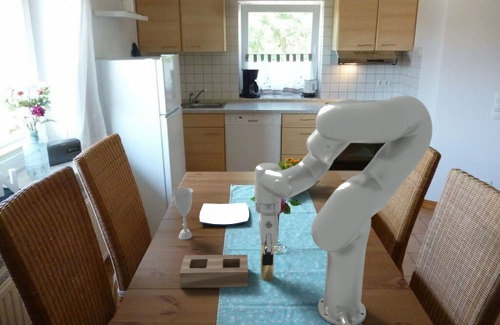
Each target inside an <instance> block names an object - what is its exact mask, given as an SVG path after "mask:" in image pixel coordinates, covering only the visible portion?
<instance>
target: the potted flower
mask: <svg viewBox="0 0 500 325" xmlns="http://www.w3.org/2000/svg"><path fill="white" fill-rule="evenodd" d="M303 159H304V157H302V156H300V157H299V159H294V157H287V158H285V162H283V161H280V160H279V161H278V163H277V165H279V166H280V168H281V170H285V169H288V168H290V167H293V166H296V165H297V164H299V163H300V162H301V161H302V160H303ZM319 182H320V179H319V180H318V181H317V182H316V183H315V184H314V185H313V186H315V185H317V184H318V183H319ZM313 186H312V187H313ZM312 187H310V188H309V189H307V190H305V191H307V192H308V191H309V190H310V189H311V188H312ZM297 195H300V193H298V194H297Z"/></svg>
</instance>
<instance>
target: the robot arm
mask: <svg viewBox="0 0 500 325" xmlns="http://www.w3.org/2000/svg"><path fill="white" fill-rule="evenodd" d="M432 137H433V121H432V117H431V114H430V112H429V110H428V108H427V107H426V105H425V104H424V103H423V102H422V101H421V100H419V99H418V98H417V97H413V96H409V95H400V96H395V97H390V98H386V99H384V100H383V99H382V100H378V101H363V102H362V101H360V100H358V99H353V98H346V99H342V100H338V101H333V102H329V103H327V104H326V105H324V106H323V107H321V109H320V110H319V111H318V113H317V115H316V118H315V129H314V131H313V132H312V133H311V134H310V135H309V137H308V138H307V139H306V148H307V150H308V153H307V154H306V155H305V156H304V157H303V160H302V161H301V162H300V163H299V164H297V165H296V166H293V165H292V166H291V167H290V168H288V169H285V170H281V168H280V166H279V165H278V163H273V162H265V163H264V162H262V163H259V164H257V166H256V167H255V168H254V211H255V212H256V213H257V214H258V225H259V226H258V227H259V236H260V246H261V245H262V246H263V253H262V264H263V266H267V265H273V245H274V247H277V246H278V245H279V242H278V240H279V236H278V235H279V234H278V232H279V231H278V230H279V225H278V221H279V220H278V214H279V213H280V212H281V209H282V207H281V204H282V201H281V200H282V199H284V200H287V199H292V198H293V197H294V196H296V195H299V194H301V193H303V192H305V191H306V190H307V189H309V188H310V187H311V188H312V187H313V185H314V184H315V183H316V182H317V181H318V180H319V181H320V179H321V178H322V177H324V176H325V174H326V173H327V172H328V170H329V169H330V167H331V166H332V165H333V163H334V161H335V159H336V158H337V157H339V155H340V154H342V153H343V151H344V150H346V148H347V147H348V146H349V145H350V144H351V143H352V144H353V143H354V144H355V143H357V144H383V146H381V147H380V148H379V150H377V152H376V153H375V155H374V157H373V158H372V159H371V161H370V162H369V163H368V164H367V166H365V167H364V169H363V170H362V171H360V172H359V173H357V174H356V175H354V176H352V177H350V178H349V179H347V180H345V181H344V182H342V183H341V184H340V185H339V186H337V187H336V189H334V191H333V192H332V194H331V195H330V196H329V198H328V199H327V201H326V202H325V203H324V205H322V207H321V209H319V211H318V213H317V214H316V215H315V217H314V219H313V221H312V224H311V228H310V229H311V230H310V231H311V234H310V235H311V237H312V240H313V242H314V244H315V246H316V247H318V248H319V249H320V250H323V251H324V252H326V260H325V261H326V263H325V264H326V265H325V278H324V279H325V281H324V295H323V297H322V298H320V299H319V300H318V303H317V311H318V313H319V315H320V317H321V318H323V319H324V320H325V321H326V322H328V323H330V324H333V325H360V324H361V323H363V322H364V320H365V319H366V316H367V309H366V307H365V305H364V303H362V293H363V292H362V291H363V283H364V282H363V280H364V270H365V262H366V260H365V259H366V251H367V244H368V239H369V235H370V231H371V227H372V226H371V225H372V217H374V215H376V214H377V213H379V212H380V211H382V209H383V208H385V207H386V206H387V205H388V203H389V202H390V200H391V199H392V198H393V197H394V195H395V194H396V193H397V192H398V190H399V189H400V188H401V186H402V185H403V184H404V183H405V182H406V180H407V179H408V178H409V177H410V175H411V174H412V173H413V171H414V170H415V169H416V168H417V166H418V165H419V164H420V163H421V161H422V159H423V158H424V156H425V155H426V153H427V152H428V150H429V147H430V145H431V141H432ZM315 185H316V184H315ZM315 185H314V186H315ZM311 188H310V189H311ZM310 189H309V190H310ZM298 193H299V194H298ZM265 242H267V243H265ZM265 246H267V248H266V249H265Z"/></svg>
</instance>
